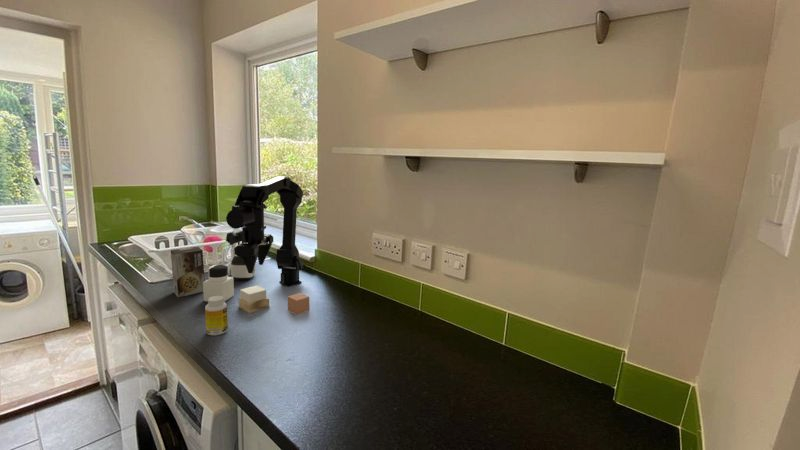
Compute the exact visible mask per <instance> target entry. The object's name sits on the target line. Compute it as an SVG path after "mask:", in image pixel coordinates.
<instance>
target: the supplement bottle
mask: <svg viewBox="0 0 800 450" xmlns="http://www.w3.org/2000/svg"><path fill="white" fill-rule="evenodd" d="M204 311H205V312H204V313H205V316H204V317H205V332H206V334H207V335H209V336H219V335H220V336H221V335H223V334H225V333H226V332H227V331H228V328H229V326H228V323H229V322H228V304H227V303H226V301H225V302H224V297H223V296H213V297H210V298H209V299H208V301H207V304H206V305H205V307H204Z"/></svg>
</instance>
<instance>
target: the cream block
mask: <svg viewBox="0 0 800 450" xmlns="http://www.w3.org/2000/svg"><path fill="white" fill-rule="evenodd" d="M239 296H240V297H239V298H241V299H243V300H245V301H246V302H248V303H252V302H255V301H259V300H262V299H265V298H266V297H267V289H265V288H263V287H261V286H259V285H254V286H249V287H245V288H242V289H240V290H239Z"/></svg>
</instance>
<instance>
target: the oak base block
mask: <svg viewBox="0 0 800 450" xmlns="http://www.w3.org/2000/svg"><path fill="white" fill-rule="evenodd" d="M238 307H239V308H241V309H242V310H244V311H245V312H247V313H249V314H251V313H254V312H256V311H257V312H258V311H261V310H265V309H267V308H269V307H270V297H267V296H266V298H265V299H262V300H259V301H255V302H252V303H248V302H246V301H245V300H243V299H241V298H240V297H239V298H238Z"/></svg>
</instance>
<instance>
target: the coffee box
mask: <svg viewBox="0 0 800 450" xmlns="http://www.w3.org/2000/svg"><path fill="white" fill-rule="evenodd" d="M170 258H171V271H172V286H173V294H174V295H176V297H177V298H182V297H186V296H191V295H196V294H200V293H203V282H204V281H206V280H205V264H204V251H203V249H201V247H199V246H195V247H194V246H193V247H191V246H190V247H184V248H177V249H170Z"/></svg>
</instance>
